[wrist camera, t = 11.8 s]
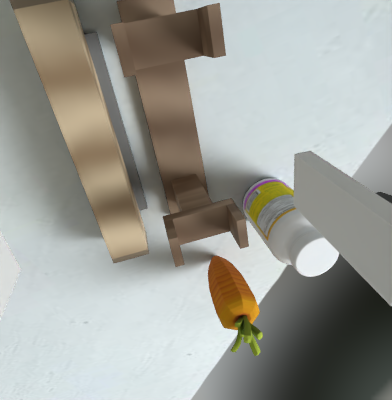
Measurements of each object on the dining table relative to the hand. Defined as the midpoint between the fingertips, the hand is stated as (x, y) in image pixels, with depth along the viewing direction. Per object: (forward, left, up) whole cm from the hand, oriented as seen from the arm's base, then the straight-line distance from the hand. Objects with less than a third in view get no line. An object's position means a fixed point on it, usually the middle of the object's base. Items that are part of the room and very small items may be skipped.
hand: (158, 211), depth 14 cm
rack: (+2, +3, -22) cm, 23 cm away
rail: (+2, -5, -22) cm, 22 cm away
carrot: (+22, +5, -22) cm, 32 cm away
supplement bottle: (+15, +13, -23) cm, 30 cm away
